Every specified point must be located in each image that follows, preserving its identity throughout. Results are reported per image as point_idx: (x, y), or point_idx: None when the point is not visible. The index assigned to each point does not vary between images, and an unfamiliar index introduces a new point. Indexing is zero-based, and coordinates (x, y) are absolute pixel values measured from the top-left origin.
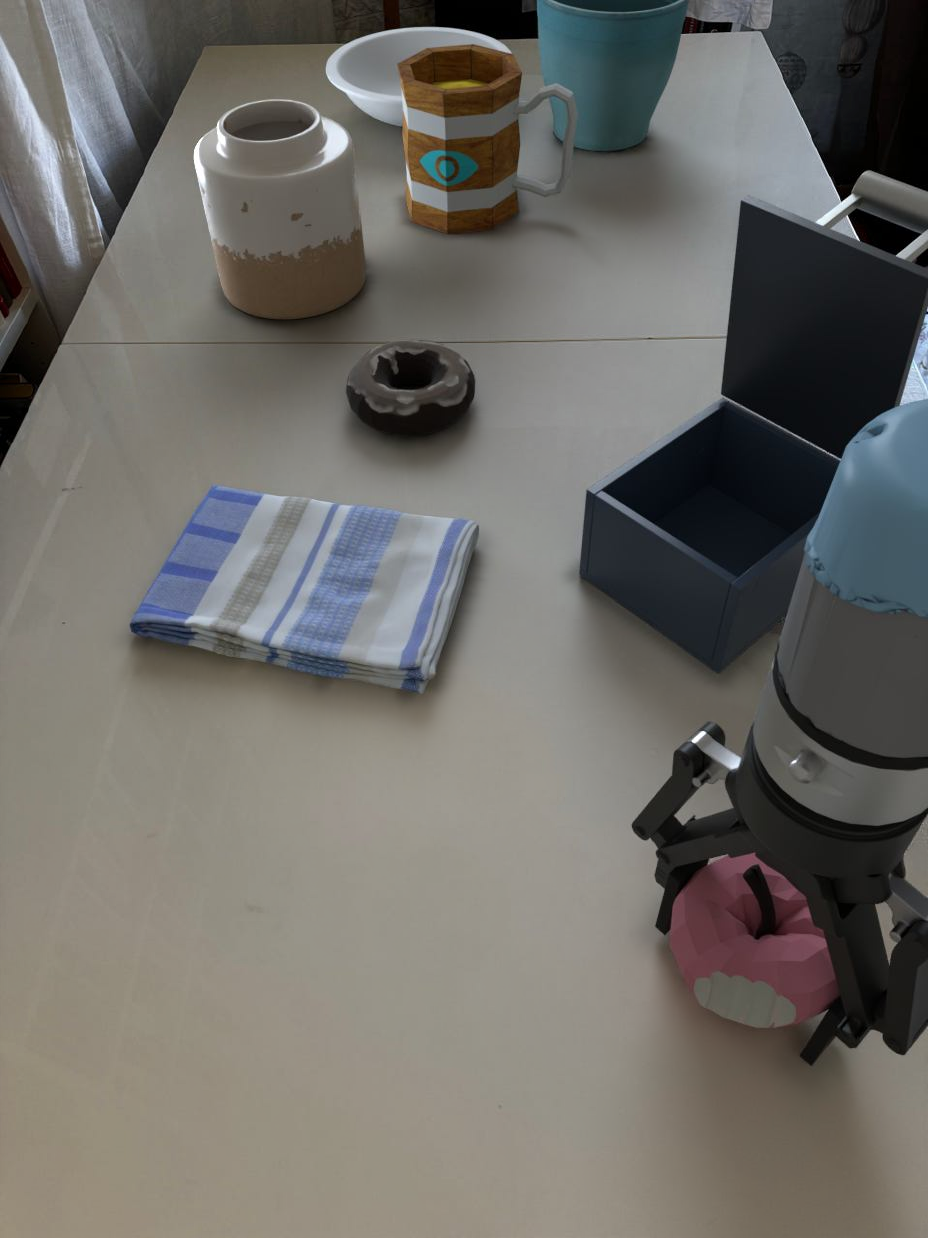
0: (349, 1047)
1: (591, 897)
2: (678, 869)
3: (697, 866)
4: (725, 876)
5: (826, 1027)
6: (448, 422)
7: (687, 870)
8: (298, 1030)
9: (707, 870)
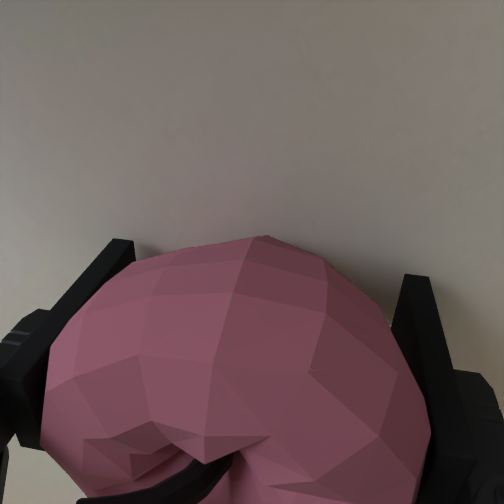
0: (56, 494)
1: (43, 296)
2: (22, 434)
3: (37, 407)
4: (76, 451)
5: None
6: None
7: (32, 431)
8: (23, 499)
9: (46, 448)
